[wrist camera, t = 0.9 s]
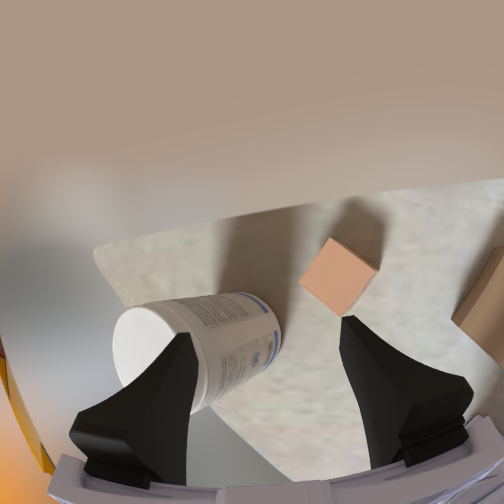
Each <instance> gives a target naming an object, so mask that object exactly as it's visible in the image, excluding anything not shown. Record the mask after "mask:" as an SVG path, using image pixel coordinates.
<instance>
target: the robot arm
mask: <svg viewBox="0 0 504 504" xmlns="http://www.w3.org/2000/svg"><path fill="white" fill-rule="evenodd" d="M339 351H340V355H341V359H342V362H343V366H344V369H345V371H346V374H347V377H348V379H349V382H350V384H351V387H352V389H353V392H354V394H355V397H356V399H357V402H358V405H359V408H360V412H361V416H362V420H363V424H364V429H365V434H366V439H367V444H368V450H369V456H370V464H371V470H369V471H365V472H361V473H357V474H353V475H349V476H344V477H339V478H334V479H329V480H323V481H321V480H312V481H301V482H293V483H284V484H272V485H254V486H232V487H226V488H207V487H191V486H186V452H187V450H186V449H187V434H188V423H189V418H190V413H191V408H192V404H193V399H194V395H195V390H196V386H197V381H198V370H199V361H198V358H197V354H196V351H195V348H194V345H193V341H192V338H191V334H190V332H181V333H177V334H176V335H175V337H174V338H173V339H172V340H171V341H170V342H169V344H168V345H167V346H166V347H165V348H164V350H163V351H162V352H161V353H160V354H159V355H158V357H157V358H156V359H155V360H154V361H153V362H152V363H151V364H150V365H149V366H148V367H147V368H146V369H145V370H144V371H143V372H142V373H141V374H140V375H139V376H138V377H137V378H136V379H135V380H133V381H132V382H131V383H130V384H128V385H127V386H126V387H124V388H123V389H122V390H120V391H119V392H117V393H116V394H114V395H113V396H111V397H109V398H108V399H106V400H104V401H103V402H101V403H99V404H97V405H95V406H92V407H90V408H88V409H86V410H83V411H81V412H79V413H78V415H77V417H76V419H75V421H74V423H73V425H72V428H71V429H70V432H69V436H70V438H71V440H72V442H73V443H74V444H75V445H76V446H77V447H78V448H79V449H80V450H81V451H82V452H83V453H84V454H85V455H86V456H87V457H88V459H87V462H84V461H82V460H80V459H78V458H74V457H71V456H68V455H65V454H62V455H61V457H60V459H59V462H58V464H57V467H56V469H55V472H54V474H53V477H52V479H51V482H50V485H49V487H48V490H47V494H48V495H50V496H51V497H53V498H54V499H56V500H57V501H59V502H61V503H62V504H438V503H440V504H504V436H503V435H502V434H501V433H500V432H499V431H498V430H497V429H496V427H495V425H494V423H493V422H492V420H491V418H490V417H489V416H486V417H484V418H483V417H482V416H481V415H477V416H475V417H474V418H473V419H472V420H471V421H470V422H469V423H468V424H467V425H466V426H465V427H464V425H463V424H464V423H465V419H464V417H463V414H464V412H465V411H466V409H467V408H468V406H469V405H470V403H471V401H472V399H473V395H474V392H473V390H472V388H471V386H470V385H469V383H468V382H467V381H466V379H465V378H464V377H462V376H458V375H454V374H450V373H446V372H443V371H440V370H437V369H434V368H431V367H429V366H426V365H424V364H422V363H420V362H418V361H416V360H414V359H412V358H410V357H408V356H406V355H405V354H403V353H401V352H400V351H398V350H397V349H395V348H394V347H392V346H391V345H389V344H388V343H387V342H385V341H384V340H383V339H381V338H380V337H379V336H378V335H376V334H375V333H374V332H373V331H372V330H370V329H369V328H368V327H367V326H366V325H365V324H364V323H362V322H361V321H360V320H359V319H358V318H357V317H355V316H354V315H352V316H346V317H342V322H341V334H340V345H339Z"/></svg>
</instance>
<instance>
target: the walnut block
mask: <svg viewBox="0 0 504 504" xmlns="http://www.w3.org/2000/svg"><path fill="white" fill-rule="evenodd" d="M451 320H452V321H453V322H454V323H455V324H456V325H457V326H458V327H459V328H460V329H461V330H462V331H463V332H464V333H466V334H467V335H468V336H469V337H470V338H471V339H472V340H473V341H474V342H476V343H477V344H478V345H479V346H480V347H481V348H482V349H483V350H484V351H485V352H486V353H487V354H488V355H490V356H491V357H492V358H493V359H494V360H495V361H496V362H497V363H498V364H499V365H500V366H501V367H502V368H503V369H504V246H502V247H498V248H495V249H494V251H493V253H492V255H491V257H490V259H489V261H488V262H487V264H486V266H485V268H484V269H483V271H482V273H481V274H480V276H479V278H478V279H477V281H476V283H475V284H474V286H473V288H472V289H471V291H470V292H469V294H468V295H467V297H466V298H465V300H464V301H463V303H462V304H461V306H460V307H459V309H458V310H457V312H456V313H455V314H454V316H453V317H452V319H451Z"/></svg>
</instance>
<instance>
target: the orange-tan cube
mask: <svg viewBox="0 0 504 504" xmlns="http://www.w3.org/2000/svg"><path fill="white" fill-rule="evenodd" d="M378 272H379V270H378V269H376V268H375V267H374V266H372V265H371V264H370V263H368V262H367V261H366V260H365V259H363V258H362V257H361V256H359V255H358V254H357V253H355V252H354V251H352V250H351V249H350V248H348V247H347V246H346V245H344V244H343V243H341V242H339V241H337V240H335V239H333V238H330V237H329V239H328V240H327V242H326V243H325V245H324V246H323V248H322V249H321V251H320V252H319V254H318V255H317V257H316V258H315V259H314V261H313V262H312V264H311V265H310V267H309V268H308V269H307V271H306V272H305V274H304V275H303V277H302V278H301V279H300V281H299V282H298V283H299V284H301V285H302V286H303V287H304V288H305V289H307V290H308V291H309V292H310V293H312V294H313V295H314V296H315V297H316V298H318V299H319V300H320V301H321V302H322V303H324V304H325V305H326V306H327V307H329V308H330V309H331V310H332V311H333V312H335V313H336V314H337V315H338V316H339V317H341V316H342V315H344V314H345V313H347V312H348V311H349V310H351V308H352V307H353V306H354V305H355V303H356V302H357V301H358V299H359V298H360V297H361V295H362V294H363V293H364V291H365V290H366V289H367V287H368V286H369V284H370V283H371V282H372V280H373V279H374V277H375V276H376V275H377V273H378Z"/></svg>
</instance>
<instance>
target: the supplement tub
mask: <svg viewBox="0 0 504 504" xmlns="http://www.w3.org/2000/svg"><path fill="white" fill-rule="evenodd" d="M181 332H190V334H191V338H192V341H193V345H194V348H195V351H196V354H197V358H198V361H199V370H198V381H197V386H196V390H195V395H194V399H193V404H192V408H191V413H190V415H191V414H193V413H194V412H196V411H198V410H200V409H202V408H204V407H205V406H207V405H209V404H211V403H212V402H214V401H216V400H218V399H219V398H221V397H223V396H224V395H226V394H228V393H229V392H231V391H232V390H234V389H236V388H237V387H239V386H240V385H242V384H244V383H245V382H247V381H248V380H250V379H251V378H253V377H254V376H256V375H258V374H259V373H261V372H262V371H264V370H265V369H266V368H268V367H269V366H270V365H271V364H272V363H273V361H274V360H275V358H276V357H277V355H278V352H279V349H280V344H281V331H280V326H279V323H278V320H277V318H276V316H275V314H274V313H273V311H272V310H271V309H270V307H269V306H268V305H267V304H266V303H265V302H263V301H262V300H261V299H259V298H258V297H256V296H254V295H252V294H248V293H244V292H233V293H224V294H216V295H208V296H200V297H191V298H182V299H173V300H164V301H156V302H150V303H145V304H143V305H138V306H133V307H131V308H129V309H127V310H126V311H125V312H124V313H123V314H122V315H121V316H120V318H119V319H118V322H117V324H116V327H115V330H114V335H113V356H114V362H115V367H116V370H117V373H118V376H119V379H120V381H121V383H122V385H123V387H126V386H127V385H128V384H130V383H131V382H132V381H133V380H135V379H136V378H137V377H138V376H139V375H140V374H141V373H142V372H143V371H144V370H145V369H146V368H147V367H148V366H149V365H150V364H151V363H152V362H153V361H154V360H155V359H156V358H157V357H158V355H159V354H160V353H161V352H162V351H163V350H164V348H165V347H166V346H167V345H168V344H169V342H170V341H171V340H172V339H173V338H174V337H175V335H176V334H177V333H181Z"/></svg>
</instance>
